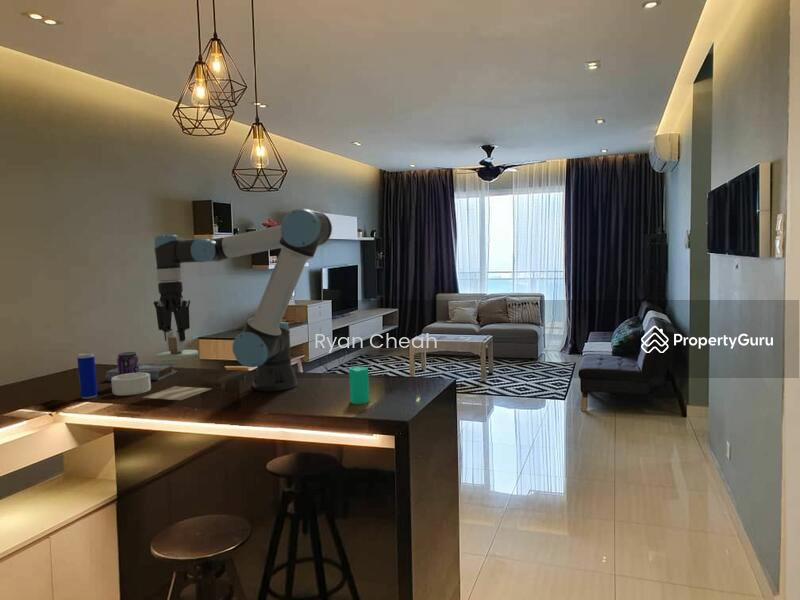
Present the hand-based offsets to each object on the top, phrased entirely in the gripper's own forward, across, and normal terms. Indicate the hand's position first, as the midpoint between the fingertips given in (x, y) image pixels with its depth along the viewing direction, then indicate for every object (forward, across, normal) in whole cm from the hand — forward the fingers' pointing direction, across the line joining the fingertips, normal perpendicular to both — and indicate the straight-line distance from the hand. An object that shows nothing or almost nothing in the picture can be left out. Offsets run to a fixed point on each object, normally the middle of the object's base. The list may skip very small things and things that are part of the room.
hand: (176, 350), depth 202 cm
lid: (+2, 0, 0) cm, 2 cm away
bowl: (+15, +20, +1) cm, 25 cm away
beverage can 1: (+15, +31, +9) cm, 35 cm away
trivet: (+15, +1, 0) cm, 15 cm away
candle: (+17, -64, -6) cm, 67 cm away
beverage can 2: (+15, +31, -9) cm, 35 cm away
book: (+15, +38, -23) cm, 46 cm away
